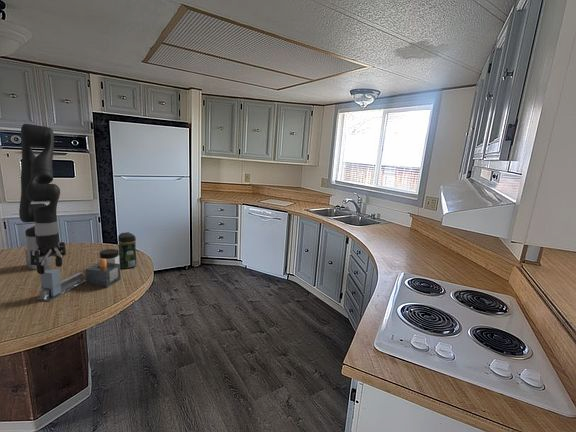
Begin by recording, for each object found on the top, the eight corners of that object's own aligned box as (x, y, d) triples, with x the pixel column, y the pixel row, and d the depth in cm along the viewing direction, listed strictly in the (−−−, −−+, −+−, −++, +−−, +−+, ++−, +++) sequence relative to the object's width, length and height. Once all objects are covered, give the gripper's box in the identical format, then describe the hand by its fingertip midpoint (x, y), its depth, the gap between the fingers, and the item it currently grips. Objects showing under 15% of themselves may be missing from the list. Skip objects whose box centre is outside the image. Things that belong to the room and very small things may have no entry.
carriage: (42, 295, 125) (40, 272, 123) (50, 290, 129) (48, 268, 127) (53, 296, 125) (51, 273, 123) (61, 292, 128) (59, 269, 126)
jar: (99, 278, 147) (98, 254, 145) (99, 272, 154) (98, 250, 151) (120, 275, 152) (119, 252, 150) (119, 269, 159) (118, 248, 156)
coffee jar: (117, 264, 165) (116, 232, 162) (133, 262, 171) (132, 230, 167) (122, 270, 158) (121, 236, 155) (138, 267, 164) (137, 234, 160)
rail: (36, 299, 123) (35, 290, 122) (75, 279, 143) (75, 271, 142) (49, 301, 122) (48, 292, 121) (87, 281, 143) (86, 273, 142)
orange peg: (98, 276, 141) (98, 260, 139) (102, 274, 144) (102, 258, 142) (104, 276, 141) (103, 260, 139) (108, 274, 143) (107, 258, 142)
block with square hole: (86, 285, 138) (85, 269, 137) (101, 277, 148) (100, 262, 146) (107, 287, 138) (106, 271, 136) (120, 279, 147) (120, 264, 146)
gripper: (53, 227, 129) (56, 263, 132) (21, 236, 115) (26, 275, 118) (69, 229, 128) (72, 264, 131) (40, 237, 114) (43, 277, 117)
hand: (50, 269), depth 125 cm, fingers open, 8 cm apart
